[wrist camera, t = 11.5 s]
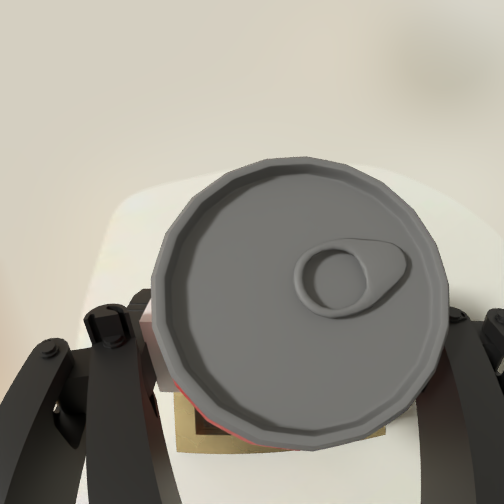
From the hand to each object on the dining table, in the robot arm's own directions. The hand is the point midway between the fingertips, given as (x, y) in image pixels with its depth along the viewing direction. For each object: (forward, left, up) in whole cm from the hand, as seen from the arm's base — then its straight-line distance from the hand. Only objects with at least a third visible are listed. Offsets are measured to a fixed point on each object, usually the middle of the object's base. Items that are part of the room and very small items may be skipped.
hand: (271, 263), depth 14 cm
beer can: (0, +4, -4) cm, 5 cm away
